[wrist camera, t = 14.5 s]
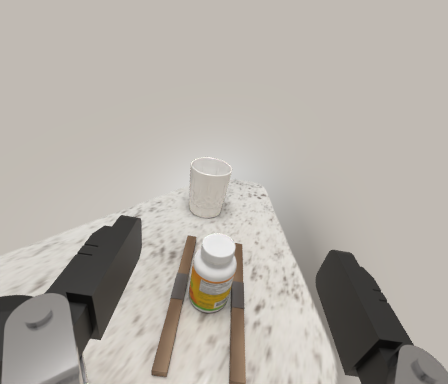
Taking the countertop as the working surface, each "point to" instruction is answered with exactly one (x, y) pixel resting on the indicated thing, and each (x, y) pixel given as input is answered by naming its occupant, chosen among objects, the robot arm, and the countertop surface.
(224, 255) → the supplement bottle
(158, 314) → the countertop surface
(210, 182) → the white cup
